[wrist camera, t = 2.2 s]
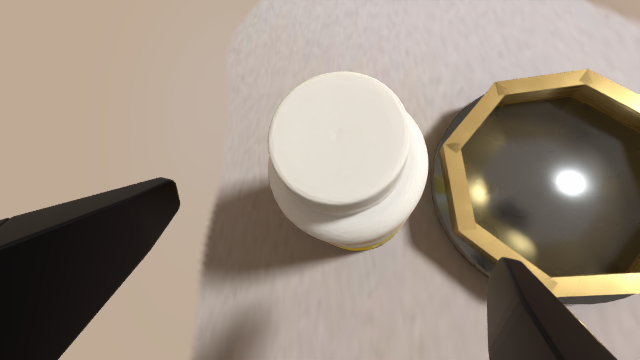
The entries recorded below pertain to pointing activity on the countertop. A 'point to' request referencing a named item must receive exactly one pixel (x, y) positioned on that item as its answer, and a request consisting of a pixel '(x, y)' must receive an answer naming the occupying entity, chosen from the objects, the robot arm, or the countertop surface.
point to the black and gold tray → (547, 183)
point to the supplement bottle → (346, 160)
